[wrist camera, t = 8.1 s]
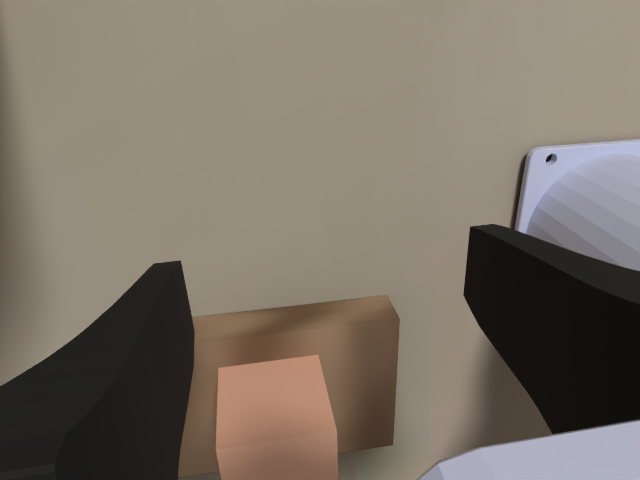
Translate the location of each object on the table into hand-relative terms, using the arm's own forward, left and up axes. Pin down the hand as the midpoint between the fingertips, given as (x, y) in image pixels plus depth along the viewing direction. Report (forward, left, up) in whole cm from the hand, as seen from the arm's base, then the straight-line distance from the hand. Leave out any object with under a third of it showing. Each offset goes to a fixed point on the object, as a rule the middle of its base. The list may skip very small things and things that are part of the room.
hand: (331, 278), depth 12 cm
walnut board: (+2, +11, -9) cm, 15 cm away
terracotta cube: (+2, +11, -7) cm, 13 cm away
